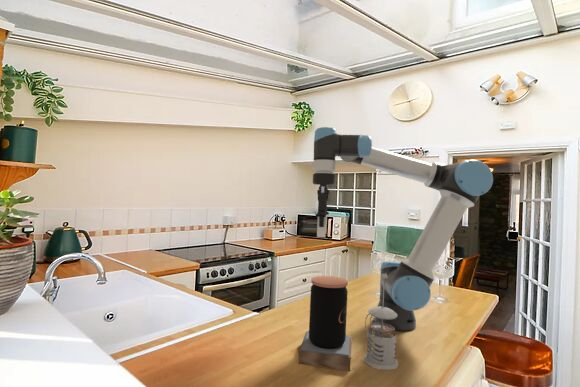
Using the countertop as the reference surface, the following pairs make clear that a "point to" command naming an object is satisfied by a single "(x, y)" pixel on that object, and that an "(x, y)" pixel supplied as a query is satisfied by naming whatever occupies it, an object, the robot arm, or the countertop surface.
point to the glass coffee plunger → (381, 338)
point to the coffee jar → (328, 312)
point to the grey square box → (325, 355)
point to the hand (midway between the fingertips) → (321, 234)
